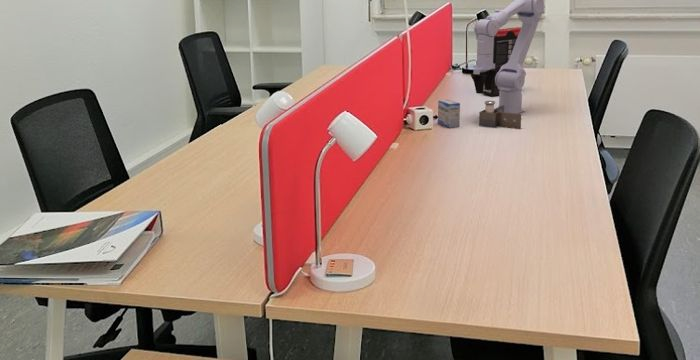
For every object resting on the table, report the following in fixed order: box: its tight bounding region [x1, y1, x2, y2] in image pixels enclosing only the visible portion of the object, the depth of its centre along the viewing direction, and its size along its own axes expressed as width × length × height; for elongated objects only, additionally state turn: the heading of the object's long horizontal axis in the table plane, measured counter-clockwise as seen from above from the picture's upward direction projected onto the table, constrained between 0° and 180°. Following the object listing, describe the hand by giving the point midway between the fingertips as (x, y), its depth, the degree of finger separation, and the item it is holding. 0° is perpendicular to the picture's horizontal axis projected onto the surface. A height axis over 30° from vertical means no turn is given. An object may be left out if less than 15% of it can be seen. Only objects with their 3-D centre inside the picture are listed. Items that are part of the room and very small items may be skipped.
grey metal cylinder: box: [484, 100, 496, 113], centre depth 270 cm, size 4×4×8 cm
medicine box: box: [437, 99, 461, 129], centre depth 271 cm, size 8×4×9 cm, turn 25°
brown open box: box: [478, 109, 522, 130], centre depth 268 cm, size 6×14×5 cm, turn 56°
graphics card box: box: [481, 26, 522, 97], centre depth 321 cm, size 17×7×27 cm, turn 124°
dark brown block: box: [478, 105, 504, 129], centre depth 273 cm, size 14×6×5 cm, turn 146°
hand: (483, 91), depth 276 cm, fingers open, 7 cm apart
